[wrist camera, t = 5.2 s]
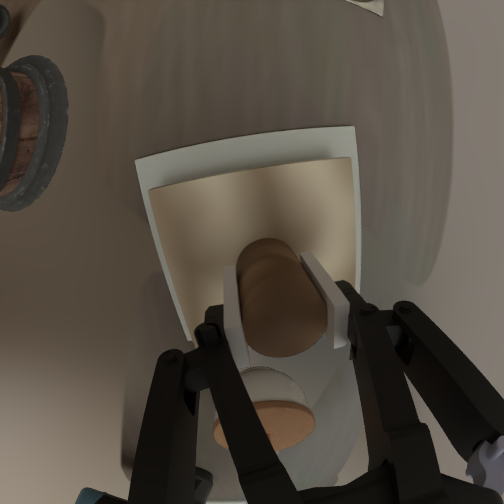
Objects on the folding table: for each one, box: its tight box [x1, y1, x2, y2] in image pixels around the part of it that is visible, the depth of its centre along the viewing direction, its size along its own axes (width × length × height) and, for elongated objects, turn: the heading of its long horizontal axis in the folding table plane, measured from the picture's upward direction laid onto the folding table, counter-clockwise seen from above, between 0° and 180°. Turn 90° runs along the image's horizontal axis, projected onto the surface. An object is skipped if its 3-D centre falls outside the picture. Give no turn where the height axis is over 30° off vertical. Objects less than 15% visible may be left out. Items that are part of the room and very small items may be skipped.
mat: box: [135, 126, 361, 341], centre depth 23 cm, size 18×18×1 cm
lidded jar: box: [213, 367, 315, 451], centre depth 26 cm, size 11×11×9 cm
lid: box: [148, 157, 356, 357], centre depth 17 cm, size 14×14×8 cm
